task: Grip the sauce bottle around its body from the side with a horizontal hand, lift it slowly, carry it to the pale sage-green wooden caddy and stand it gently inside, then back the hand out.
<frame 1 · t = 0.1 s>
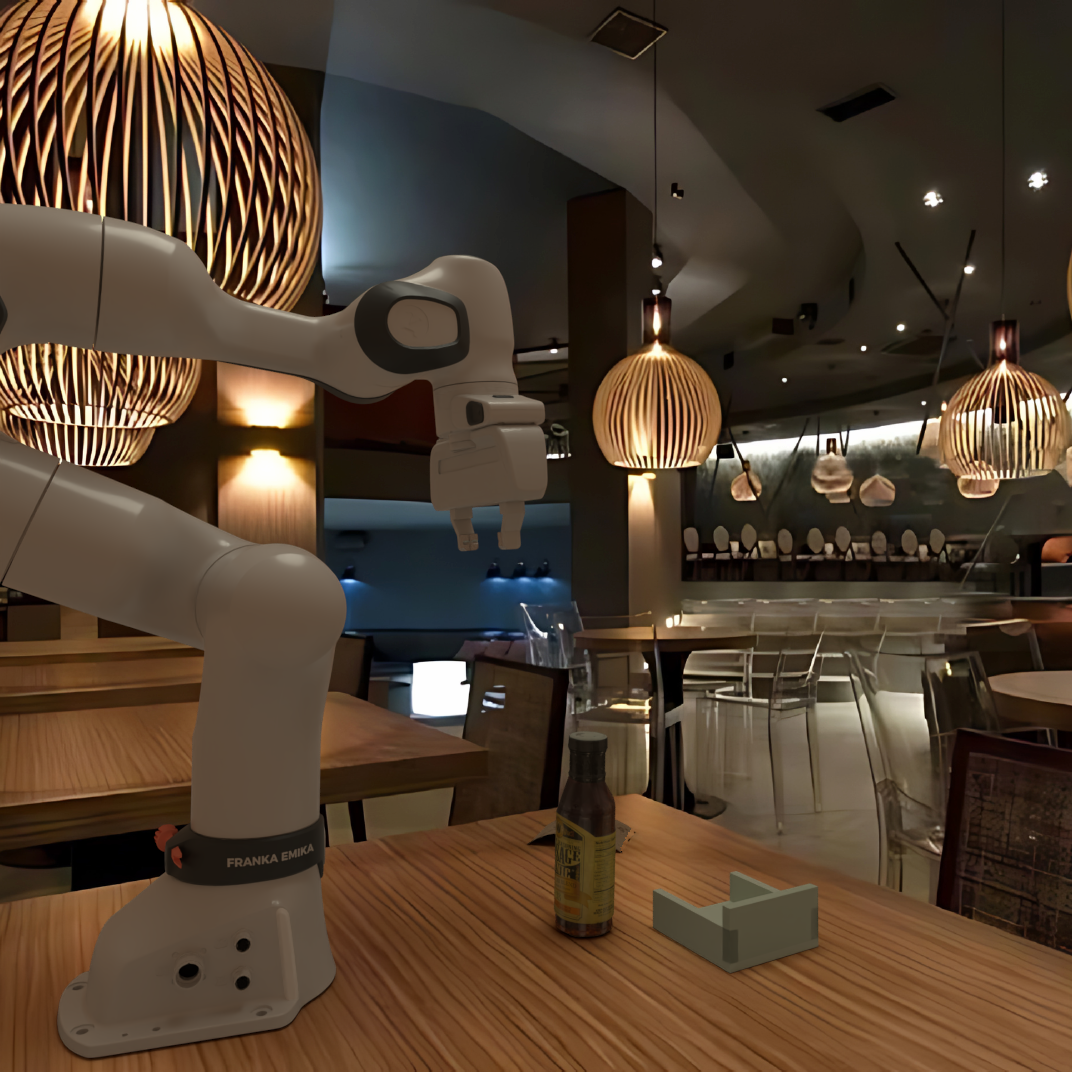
hand: (488, 550, 90), 39 cm above the table, tool pointing down, fingers open, 8 cm apart
grey curved piece: (582, 843, 119), on the table
sauce bottle: (584, 930, 89), on the table
caddy: (733, 936, 87), on the table
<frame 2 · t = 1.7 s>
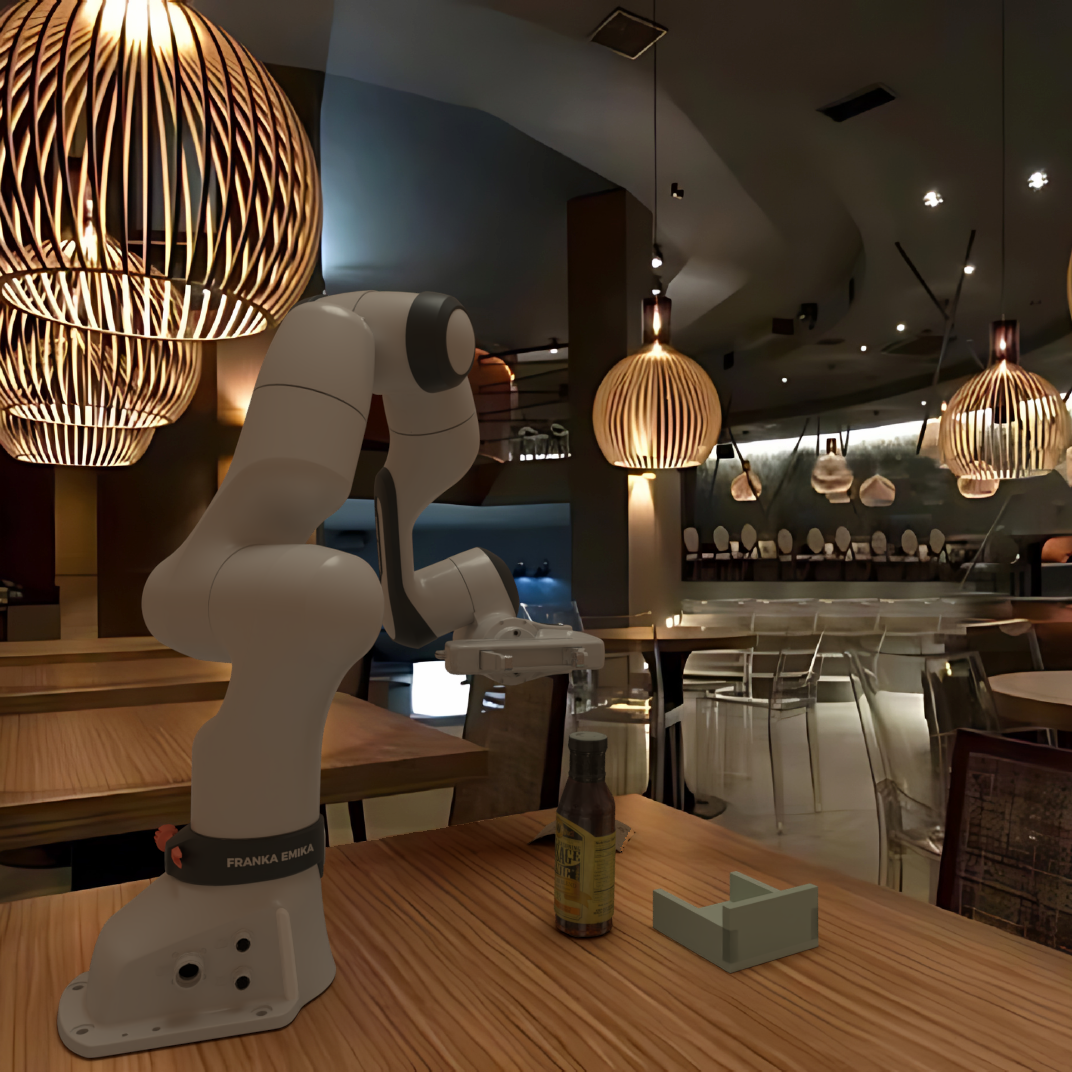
hand: (545, 662, 102), 26 cm above the table, tool horizontal, fingers open, 8 cm apart
nothing on the table moved.
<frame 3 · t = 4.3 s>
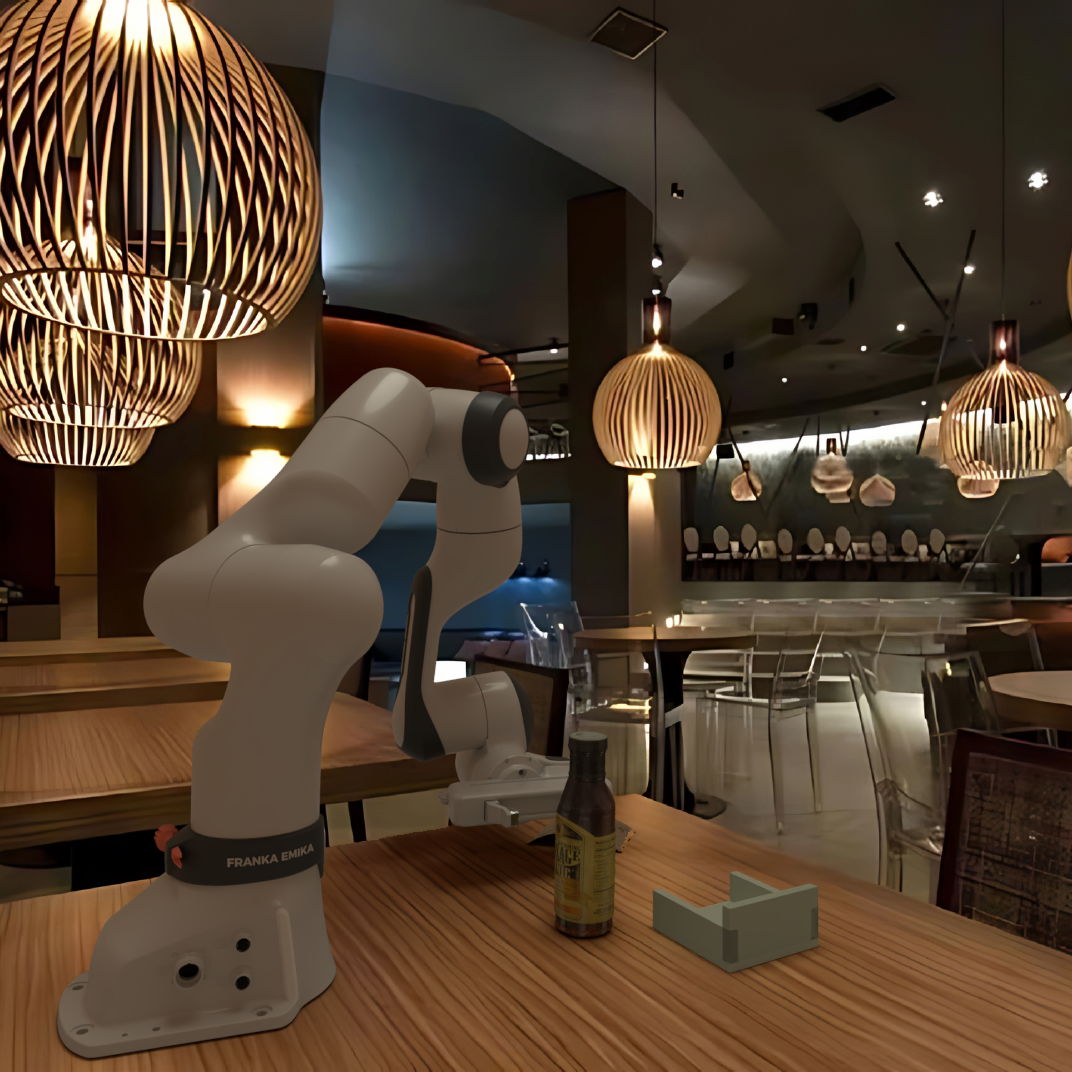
hand: (552, 816, 98), 9 cm above the table, tool horizontal, fingers open, 8 cm apart
nothing on the table moved.
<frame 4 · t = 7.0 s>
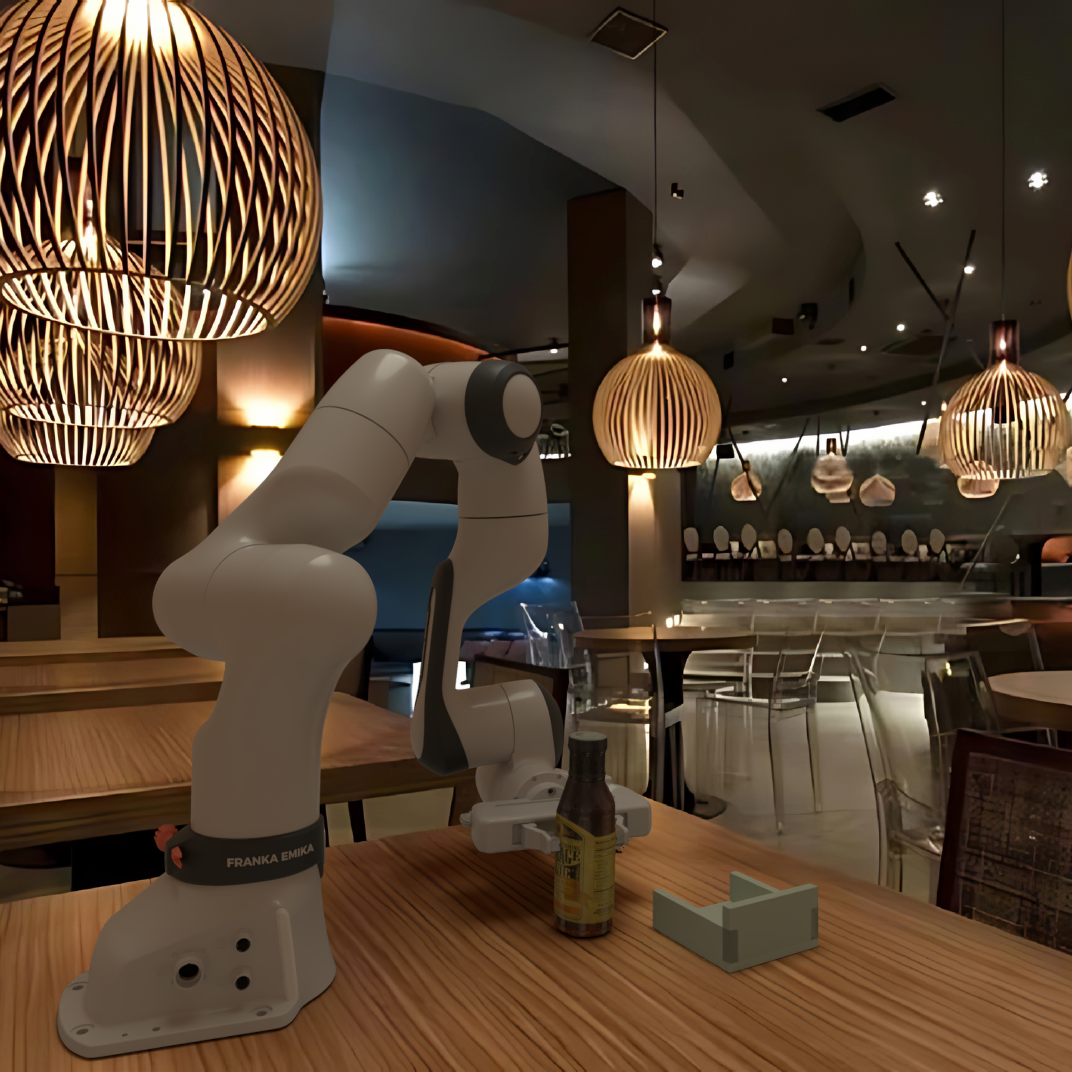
hand: (588, 842, 89), 9 cm above the table, tool horizontal, fingers closed on sauce bottle, 6 cm apart
sauce bottle: (584, 930, 89), on the table, touching gripper
everything else where it was.
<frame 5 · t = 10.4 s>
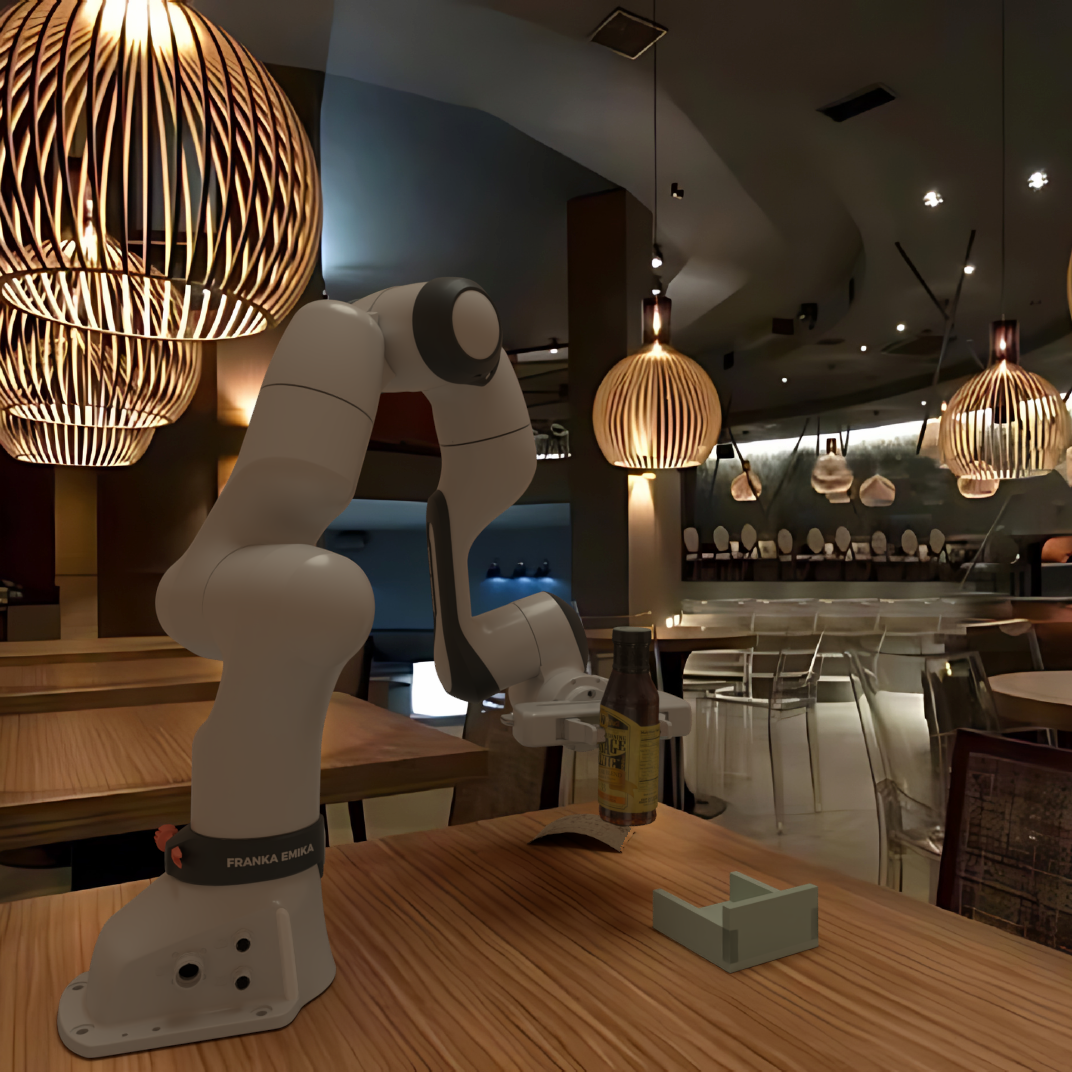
hand: (633, 733, 89), 20 cm above the table, tool horizontal, fingers closed on sauce bottle, 6 cm apart
sauce bottle: (628, 822, 90), point 11 cm above the table, touching gripper
everything else where it was.
when the fingers open (11 cm above the table, at t = 13.9 s): sauce bottle drops 1 cm, resting on caddy.
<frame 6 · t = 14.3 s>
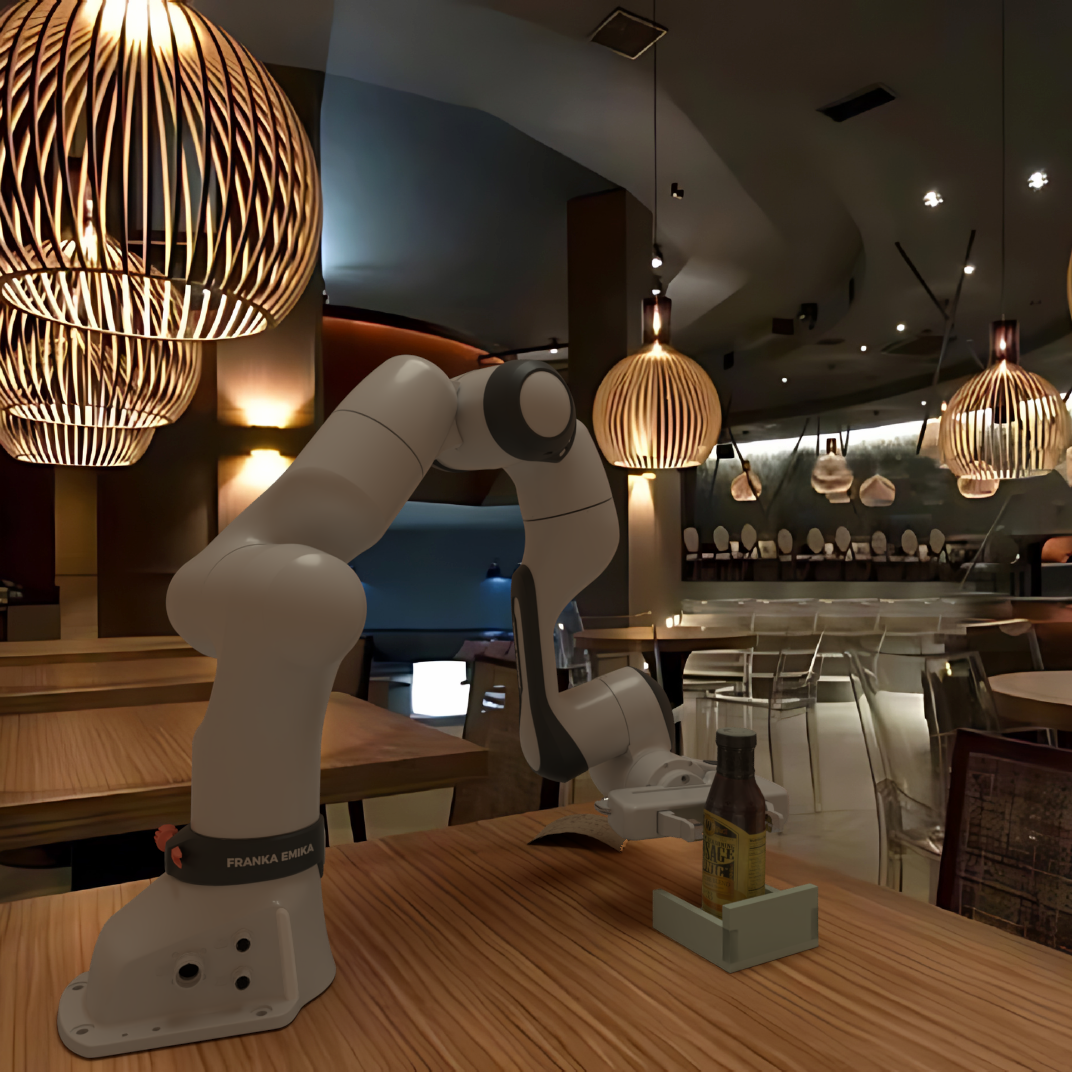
hand: (738, 829, 87), 11 cm above the table, tool horizontal, fingers open, 8 cm apart
sauce bottle: (734, 929, 88), point 1 cm above the table, touching caddy
everything else where it was.
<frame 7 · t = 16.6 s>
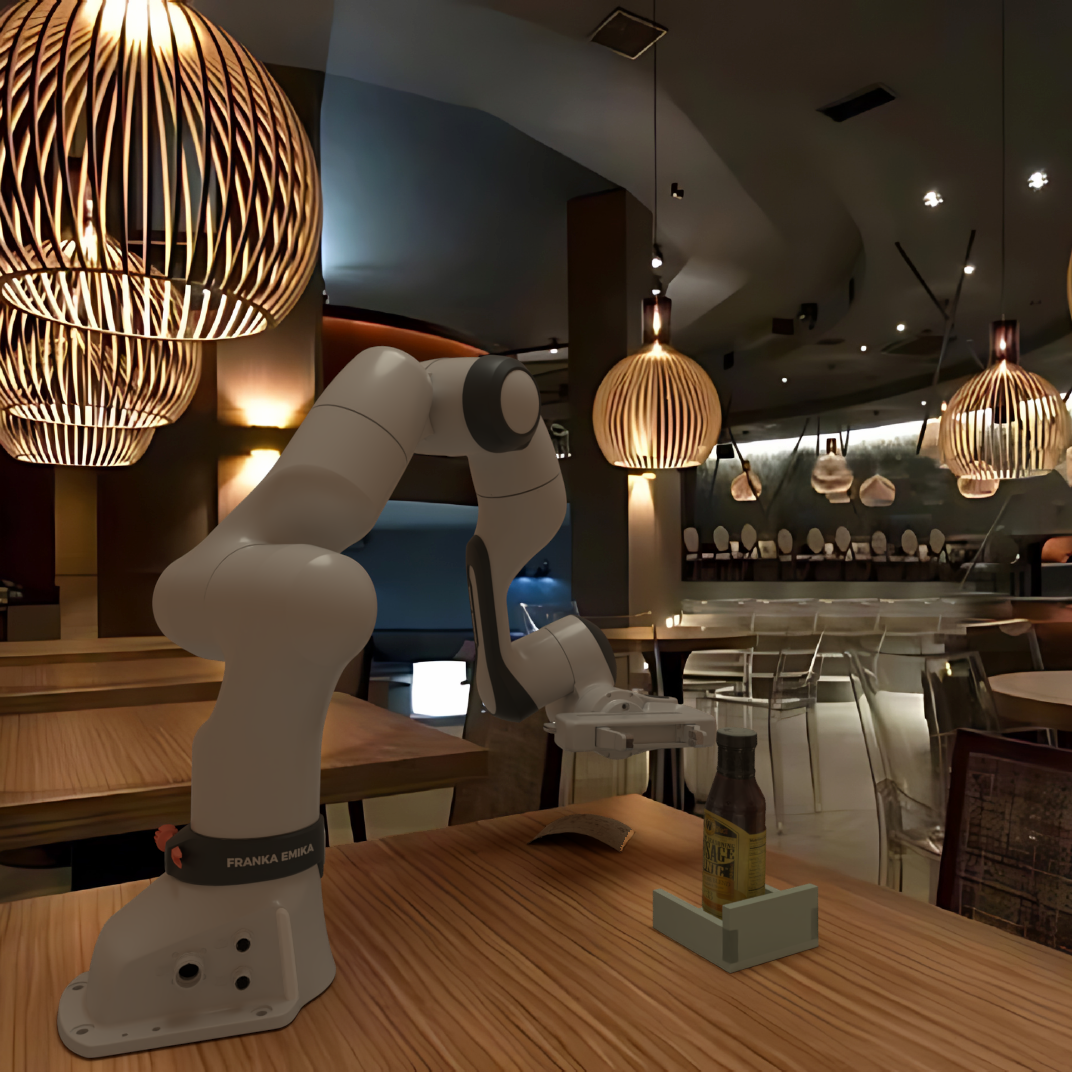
hand: (665, 741, 99), 17 cm above the table, tool horizontal, fingers open, 8 cm apart
nothing on the table moved.
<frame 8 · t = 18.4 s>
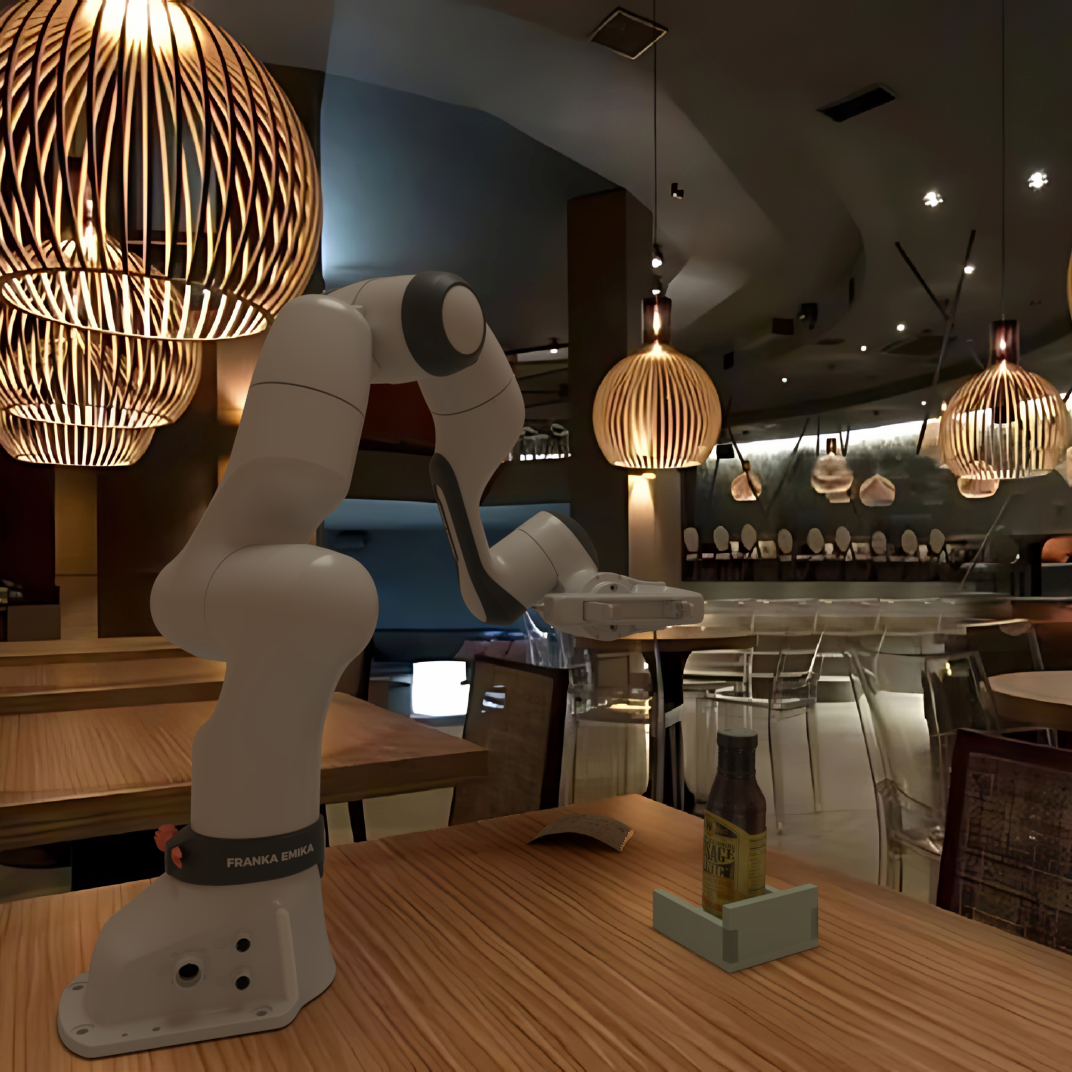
hand: (652, 611, 100), 32 cm above the table, tool horizontal, fingers open, 8 cm apart
nothing on the table moved.
at the end: sauce bottle inside the target area on the caddy (0.6 cm from its centre), point 0.6 cm above the caddy's base; sauce bottle tilted 0°; the gripper is holding nothing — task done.
